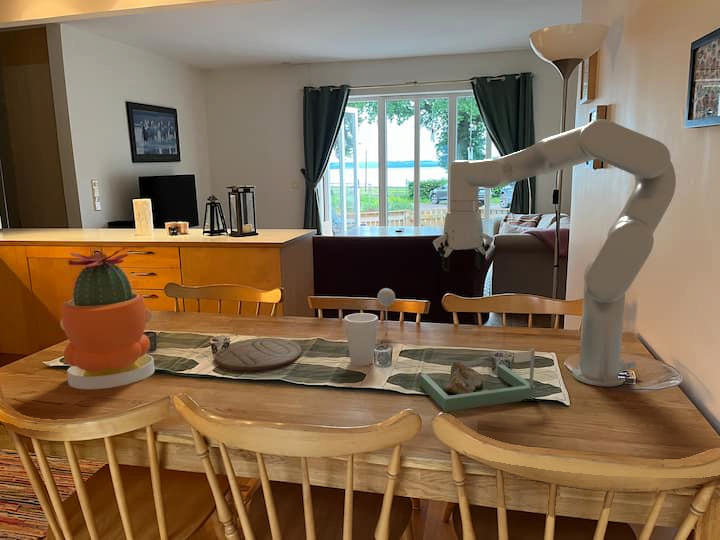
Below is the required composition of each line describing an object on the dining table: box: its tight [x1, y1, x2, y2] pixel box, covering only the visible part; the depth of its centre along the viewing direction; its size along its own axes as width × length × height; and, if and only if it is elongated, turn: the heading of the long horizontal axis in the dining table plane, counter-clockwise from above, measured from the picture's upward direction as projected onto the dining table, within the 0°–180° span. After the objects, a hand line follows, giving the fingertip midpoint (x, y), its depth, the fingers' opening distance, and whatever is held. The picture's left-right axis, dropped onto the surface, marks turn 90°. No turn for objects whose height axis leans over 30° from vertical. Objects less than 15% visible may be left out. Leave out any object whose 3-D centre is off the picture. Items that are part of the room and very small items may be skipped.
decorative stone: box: [442, 361, 483, 395], centre depth 136 cm, size 10×4×15 cm
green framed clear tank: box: [419, 348, 537, 412], centre depth 132 cm, size 23×16×12 cm
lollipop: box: [376, 287, 396, 333], centre depth 180 cm, size 6×6×15 cm
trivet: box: [214, 337, 302, 373], centre depth 162 cm, size 25×25×2 cm
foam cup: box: [343, 312, 379, 367], centre depth 154 cm, size 10×9×13 cm
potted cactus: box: [59, 246, 155, 390], centre depth 143 cm, size 22×22×35 cm
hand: (462, 269), depth 150 cm, fingers open, 9 cm apart
